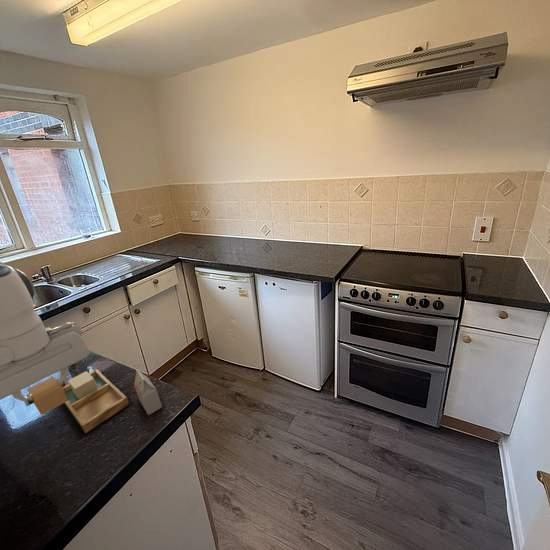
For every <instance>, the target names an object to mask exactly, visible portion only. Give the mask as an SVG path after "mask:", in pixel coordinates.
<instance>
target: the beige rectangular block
mask: <svg viewBox="0 0 550 550" xmlns="http://www.w3.org/2000/svg"><path fill="white" fill-rule="evenodd" d="M89 373H90V372H88V371H87V370H86V371H83V372H81V373H80V374H78V375H76V376H74V377H72V378H71V379H68V380H67V383H68V384H70V386H71V389H72V391H73V392H74V394H75V395H76V396H77V397H78V399H79V400H80V399H81V398H83V397H85V396H86V395H88V394H90V393H92V392H93V391H95V390H97V389H98V387H97V385H96V382H95V380H94V378H93V377H92V376H91V375H90V374H89Z"/></svg>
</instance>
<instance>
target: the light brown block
mask: <svg viewBox="0 0 550 550" xmlns="http://www.w3.org/2000/svg"><path fill="white" fill-rule="evenodd" d="M27 392H28V394H29V393H30V394H31V395H32V398H33V400H34V403H33V404H34V406H35V408H36V409H37V410H38V412H39V414H40V415H41V416H43V415H45V414H47V413H48V412H51V411H52V410H54V409H57V408H58V407H60V406H61V405H63V404H64V403H65V402H66V401H68V400H67V398H66V395H65V393H64V390H63V388H62V386H61V385H60V384H59V383H58V381H57V378H55V376H51V377H49V378H47V379H45V380H42V381H40V382H39V383H35V384H33V386H29V388H28V387H27Z"/></svg>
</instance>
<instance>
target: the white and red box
mask: <svg viewBox="0 0 550 550" xmlns="http://www.w3.org/2000/svg"><path fill="white" fill-rule="evenodd" d="M134 376H135V377H134V381H133V386H134V389H135V393H136V394H137V397H138V400H139V403H140V404H141V406H142V407H143V409H144V411H145V413H146V414H147V416H150V415H151V414H153V413H156V412H157V411H159V410H160V409H163V405H162V402H161V399H160V396H159V393H158V390H157V388H156V387H155V385H154V384H153V382H152V381H151V380H150V378H149V377H148V376H147V375H145V374H144V373H142V372H141V371H140V370H139V369H138V368H136V369H135V375H134Z"/></svg>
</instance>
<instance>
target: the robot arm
mask: <svg viewBox="0 0 550 550" xmlns="http://www.w3.org/2000/svg"><path fill="white" fill-rule="evenodd" d="M34 297H35V285H34V282H33V280H32V279H31V278H30V277H29V276H28V275H27V274H26V273H25V272H23V271H21V270H20V269H18V268H15V267H14V266H11V265H9V264H6V263H4V262H2V261H0V401H1V400H4V399H5V398H8V397H9V396H12V397H13V399H16V400H18V401H22V402H23V403H24V404H25V406H26V407H29V406H30V405H33V404H34V400H33V398H32V395H31V394H30V393H29V392H28V393H27V394H23V392H22V390H23V389H26V388H28V387H31V385H35V384H37V383H38V382H41V381H43V380H44V379H46V378H48V377H50V376H52V375H54V374H56V373H58V372H60V375H59V377H58V378H56V380H57V381H58V383H59V384H60V385H61V386H62V388H63V387H65V386H66V385H68V384H69V382H68V380H67V378H68V374H69V368H68V367H70V366H72V365H75V364H76V363H79V362H81V361H82V360H84V359H86V358H89V355H90V349H89V346H88V345H87V343H86V341H85V340H84V339H83V337H82V336H83V330H82V328H81V325H80V324H79V323H76V322H65V323H63V324H62V325H59V326H56V327H54V328H51V330H48V331H46V329H45V328H46V326H45V325H44V323H43V320H42V318H41V317H40V315H38V314H37V312H36V311H35V307H34V306H35V305H34V301H33V300H34Z"/></svg>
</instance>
